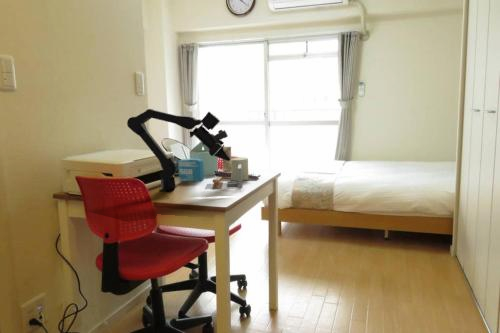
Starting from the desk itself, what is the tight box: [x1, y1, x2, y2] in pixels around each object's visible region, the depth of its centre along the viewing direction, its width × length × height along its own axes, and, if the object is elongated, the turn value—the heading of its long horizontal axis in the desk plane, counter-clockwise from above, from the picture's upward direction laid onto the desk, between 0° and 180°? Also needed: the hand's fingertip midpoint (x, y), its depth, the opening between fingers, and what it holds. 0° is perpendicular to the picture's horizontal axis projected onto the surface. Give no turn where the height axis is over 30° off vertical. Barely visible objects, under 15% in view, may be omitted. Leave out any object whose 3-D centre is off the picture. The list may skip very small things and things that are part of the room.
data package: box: [177, 158, 205, 183], centre depth 199 cm, size 12×4×12 cm, turn 76°
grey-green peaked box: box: [189, 141, 219, 178], centre depth 216 cm, size 16×8×20 cm, turn 80°
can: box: [230, 157, 249, 182], centre depth 197 cm, size 9×9×12 cm
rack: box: [204, 164, 244, 190], centre depth 182 cm, size 18×12×10 cm
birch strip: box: [222, 145, 232, 174], centre depth 181 cm, size 4×2×12 cm, turn 90°
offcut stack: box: [212, 176, 224, 189], centre depth 183 cm, size 4×10×4 cm, turn 0°
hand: (229, 159), depth 181 cm, fingers closed on birch strip, 2 cm apart
